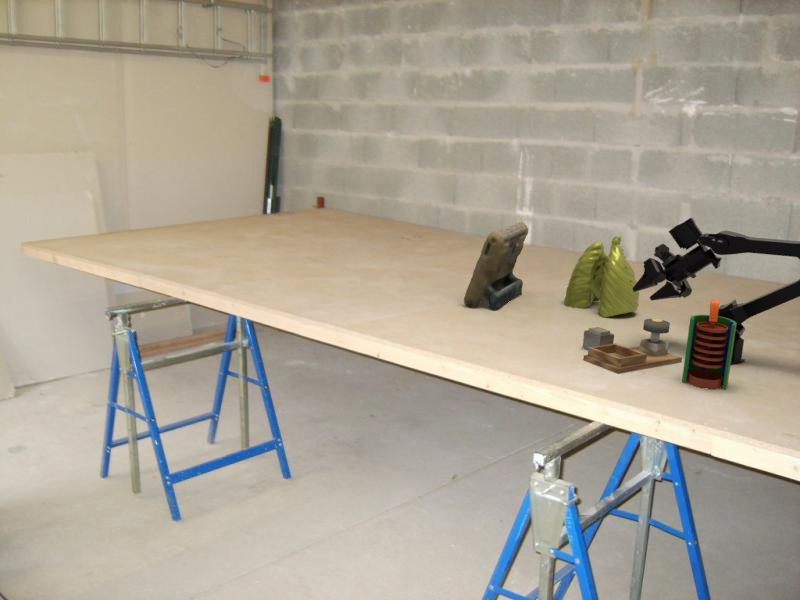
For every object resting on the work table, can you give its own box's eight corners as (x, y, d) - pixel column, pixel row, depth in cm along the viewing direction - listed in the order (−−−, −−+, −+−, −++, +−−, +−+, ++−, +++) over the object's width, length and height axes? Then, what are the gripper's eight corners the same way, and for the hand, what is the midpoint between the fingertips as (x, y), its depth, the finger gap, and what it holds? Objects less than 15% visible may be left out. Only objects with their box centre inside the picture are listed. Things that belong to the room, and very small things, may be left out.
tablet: (485, 288, 289) (490, 218, 283) (524, 292, 284) (530, 221, 279) (461, 307, 259) (466, 229, 253) (504, 313, 254) (510, 233, 248)
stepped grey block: (612, 352, 217) (614, 331, 216) (598, 354, 214) (600, 333, 213) (595, 346, 222) (598, 326, 221) (582, 348, 219) (584, 327, 218)
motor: (685, 387, 191) (696, 304, 187) (678, 375, 200) (688, 295, 195) (730, 391, 190) (742, 307, 185) (721, 379, 198) (733, 299, 194)
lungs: (647, 316, 259) (656, 240, 253) (613, 321, 250) (621, 243, 245) (589, 299, 279) (596, 229, 274) (556, 303, 271) (562, 231, 265)
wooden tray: (681, 361, 211) (683, 345, 210) (618, 373, 199) (620, 356, 198) (645, 349, 221) (647, 333, 220) (583, 359, 209) (584, 343, 208)
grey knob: (672, 343, 212) (675, 321, 210) (655, 346, 208) (658, 323, 207) (653, 337, 217) (655, 315, 216) (636, 340, 214) (639, 318, 212)
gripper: (695, 250, 225) (648, 280, 233) (661, 228, 213) (613, 261, 221) (712, 282, 219) (663, 312, 227) (678, 262, 207) (628, 294, 215)
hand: (642, 294), depth 223 cm, fingers open, 9 cm apart
